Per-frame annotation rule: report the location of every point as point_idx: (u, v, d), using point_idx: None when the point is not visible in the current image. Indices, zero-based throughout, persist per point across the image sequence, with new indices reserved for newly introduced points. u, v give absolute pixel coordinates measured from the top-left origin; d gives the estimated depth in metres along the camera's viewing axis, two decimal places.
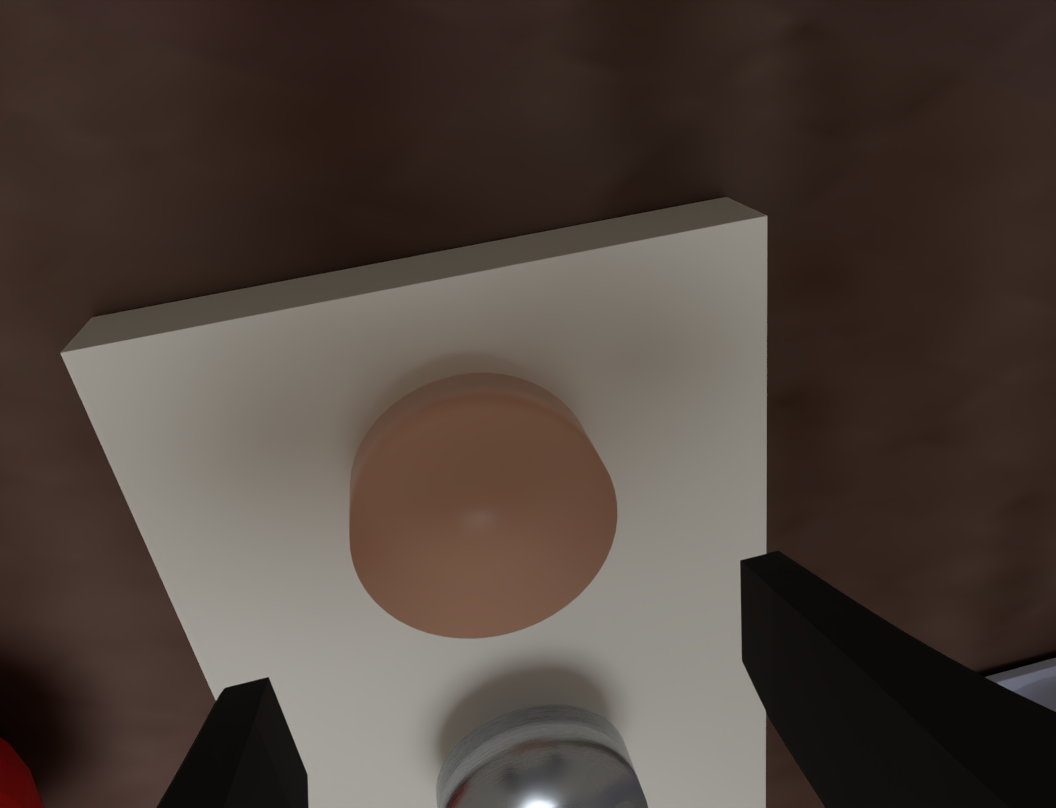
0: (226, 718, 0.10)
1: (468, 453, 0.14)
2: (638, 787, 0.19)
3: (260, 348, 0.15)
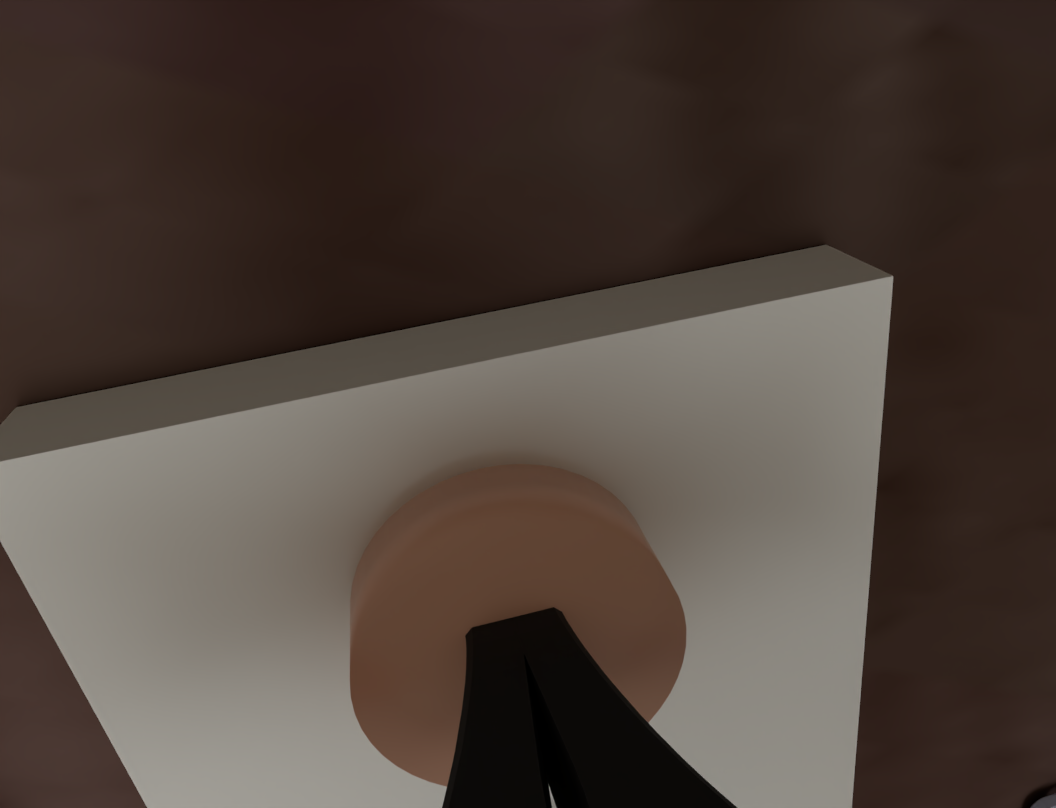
0: (491, 651, 0.10)
1: (502, 578, 0.11)
2: None
3: (232, 456, 0.12)
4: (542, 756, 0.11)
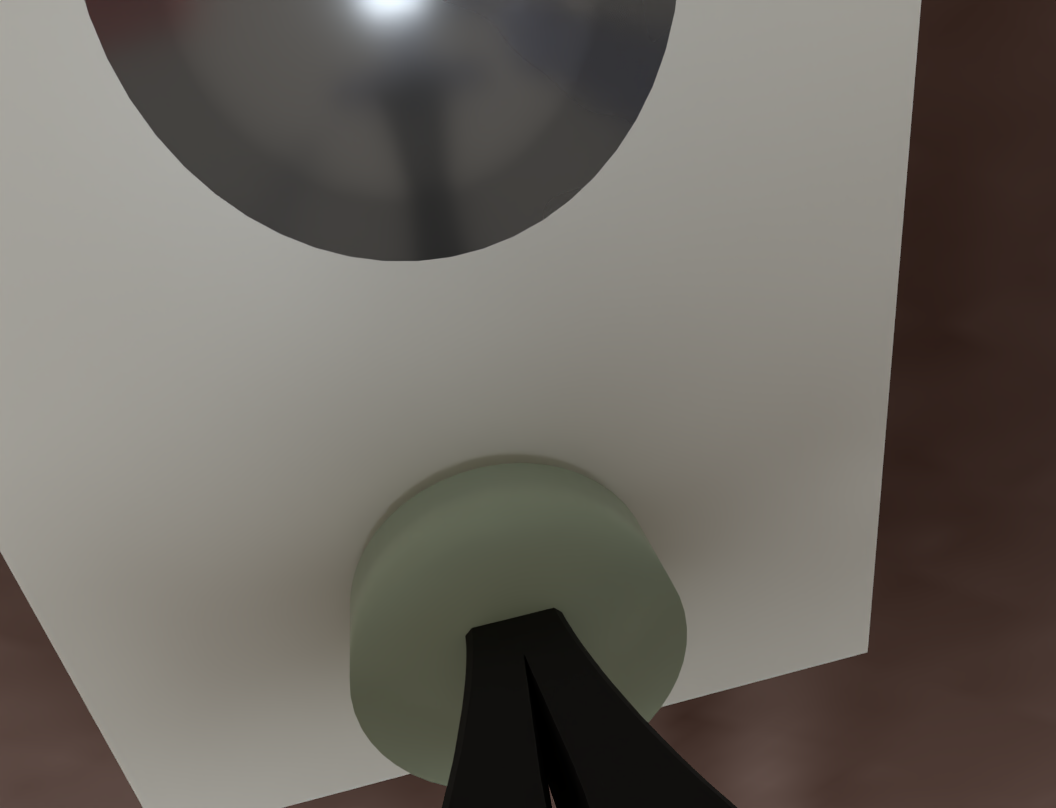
0: (492, 651, 0.10)
1: None
2: None
3: None
4: (542, 756, 0.11)
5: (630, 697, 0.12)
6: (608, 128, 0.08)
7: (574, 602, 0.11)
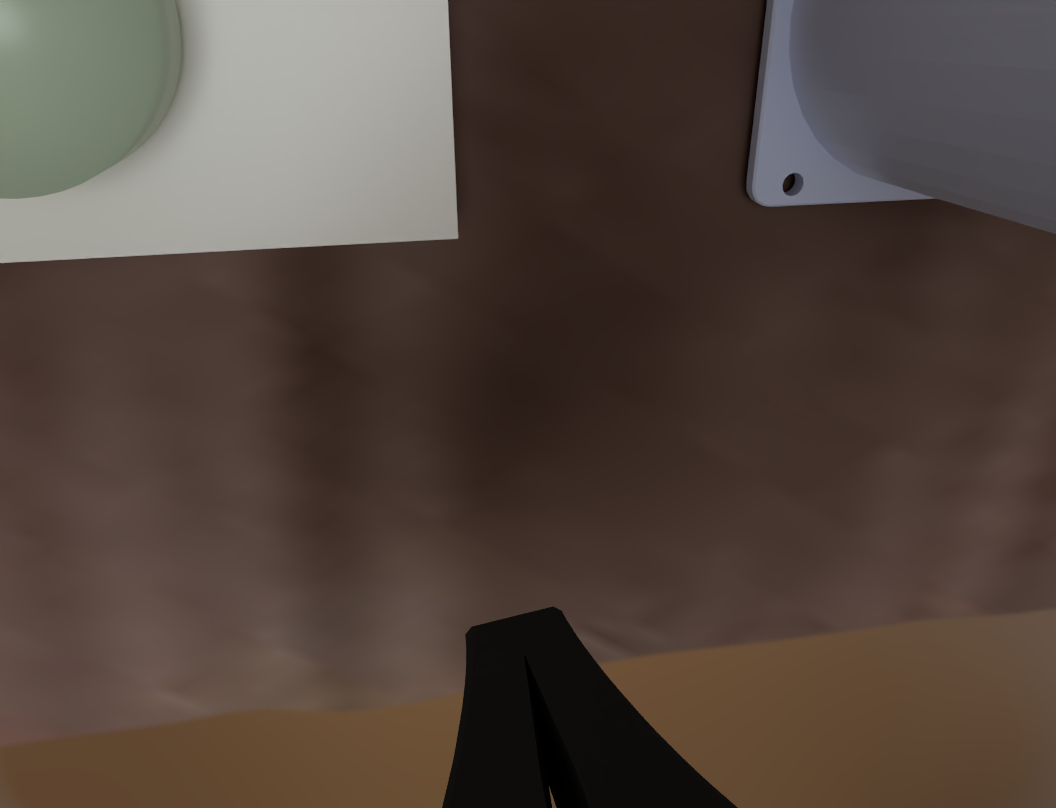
0: (492, 651, 0.10)
1: None
2: None
3: None
4: (542, 756, 0.11)
5: (103, 100, 0.12)
6: None
7: None
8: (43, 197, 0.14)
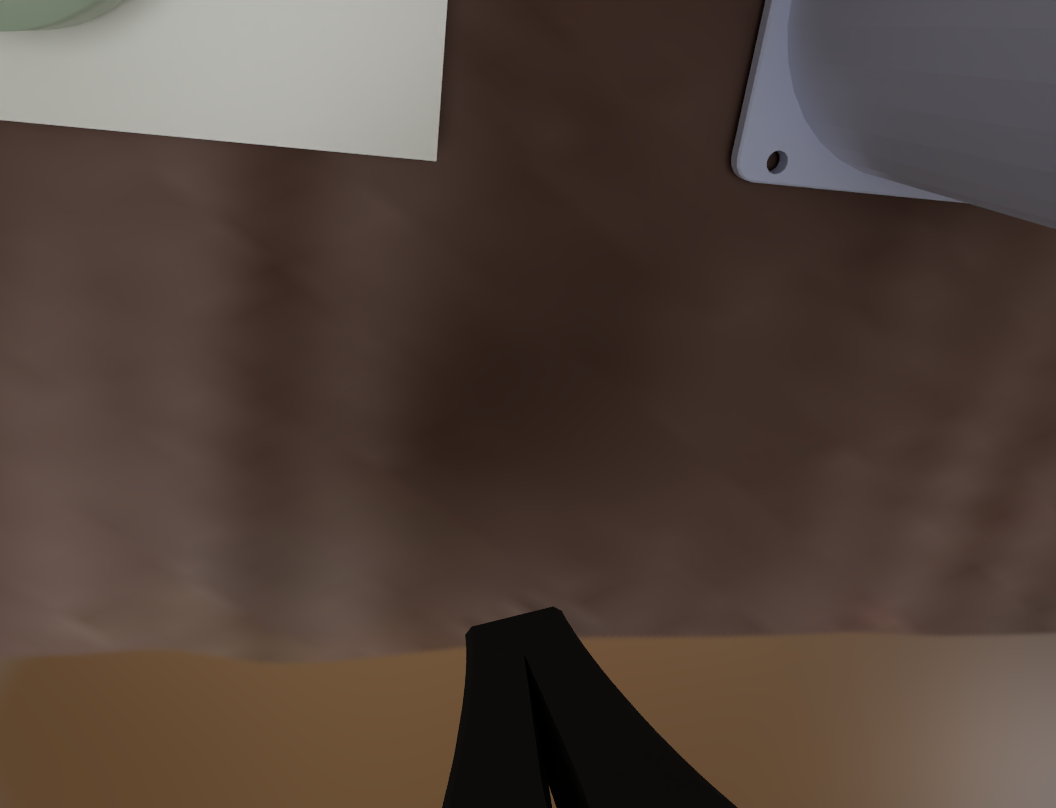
0: (492, 651, 0.10)
1: None
2: None
3: None
4: (542, 756, 0.11)
5: None
6: None
7: None
8: (1, 50, 0.13)
